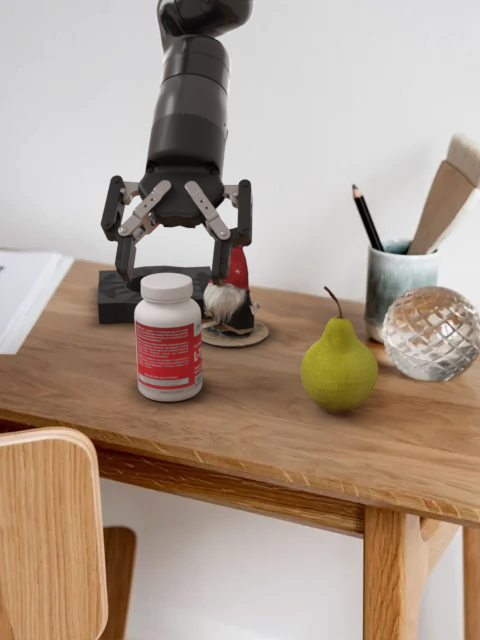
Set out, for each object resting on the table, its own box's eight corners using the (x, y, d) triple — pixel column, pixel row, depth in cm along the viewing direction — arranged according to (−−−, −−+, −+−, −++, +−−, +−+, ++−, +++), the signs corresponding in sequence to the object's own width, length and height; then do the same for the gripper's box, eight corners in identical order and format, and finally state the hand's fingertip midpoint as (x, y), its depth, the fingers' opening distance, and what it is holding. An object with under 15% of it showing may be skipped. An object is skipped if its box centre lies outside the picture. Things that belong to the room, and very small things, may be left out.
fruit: (366, 390, 81) (374, 271, 76) (383, 424, 75) (393, 297, 70) (295, 393, 80) (298, 273, 75) (306, 427, 74) (311, 299, 69)
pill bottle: (207, 400, 79) (205, 288, 74) (141, 407, 77) (136, 293, 73) (196, 373, 84) (194, 267, 80) (135, 378, 83) (129, 271, 78)
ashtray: (98, 327, 95) (97, 306, 94) (100, 286, 108) (99, 268, 107) (222, 321, 97) (222, 301, 96) (209, 282, 110) (209, 263, 109)
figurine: (197, 326, 85) (192, 229, 91) (195, 369, 94) (190, 279, 100) (277, 324, 86) (268, 228, 92) (268, 367, 95) (260, 278, 101)
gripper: (110, 108, 81) (85, 258, 75) (257, 111, 80) (243, 264, 74) (126, 154, 88) (105, 294, 82) (262, 157, 87) (249, 300, 81)
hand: (170, 280), depth 78 cm, fingers open, 8 cm apart
